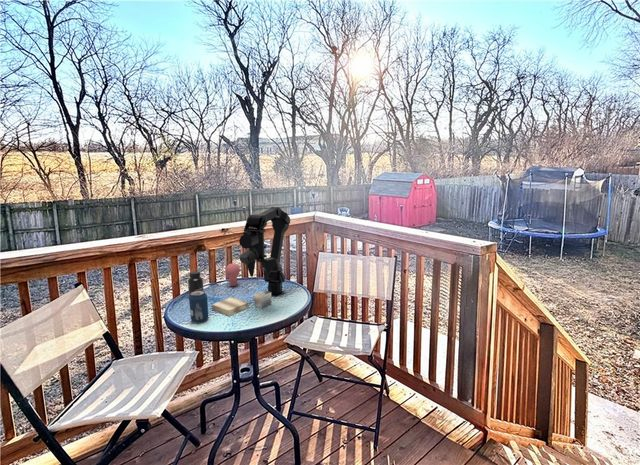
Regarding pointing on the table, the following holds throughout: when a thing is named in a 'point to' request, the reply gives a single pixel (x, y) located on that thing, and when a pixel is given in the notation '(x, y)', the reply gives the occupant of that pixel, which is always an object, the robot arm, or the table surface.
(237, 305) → the thin beige square tile
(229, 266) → the light bulb
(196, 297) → the soda can
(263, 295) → the block
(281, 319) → the table surface
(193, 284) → the supplement bottle
